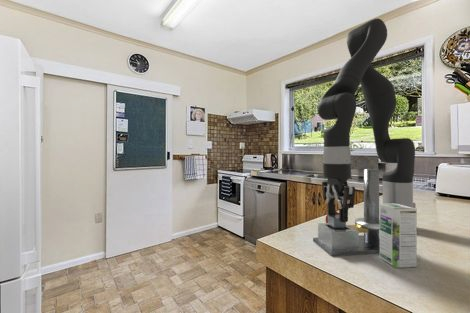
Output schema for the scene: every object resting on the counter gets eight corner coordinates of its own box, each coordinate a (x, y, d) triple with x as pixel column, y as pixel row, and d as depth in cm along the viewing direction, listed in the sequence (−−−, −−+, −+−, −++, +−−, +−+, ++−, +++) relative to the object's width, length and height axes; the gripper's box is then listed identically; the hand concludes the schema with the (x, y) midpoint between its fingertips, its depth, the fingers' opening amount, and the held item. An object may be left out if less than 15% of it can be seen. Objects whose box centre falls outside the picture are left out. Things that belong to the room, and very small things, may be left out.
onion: (345, 233, 79) (344, 210, 79) (327, 232, 80) (327, 210, 80) (340, 228, 84) (340, 207, 84) (324, 227, 85) (324, 206, 85)
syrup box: (378, 257, 60) (378, 203, 60) (399, 256, 61) (398, 202, 61) (395, 268, 54) (395, 208, 54) (418, 267, 55) (417, 207, 55)
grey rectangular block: (339, 240, 70) (338, 214, 70) (345, 245, 66) (345, 218, 66) (327, 241, 69) (327, 215, 69) (334, 245, 66) (334, 218, 66)
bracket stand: (372, 237, 74) (372, 168, 74) (400, 252, 63) (399, 170, 63) (313, 240, 72) (312, 169, 72) (331, 256, 61) (330, 171, 61)
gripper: (364, 162, 60) (365, 225, 61) (335, 161, 75) (335, 212, 75) (338, 163, 60) (338, 226, 60) (313, 161, 74) (314, 213, 74)
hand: (337, 218), depth 67 cm, fingers open, 6 cm apart
